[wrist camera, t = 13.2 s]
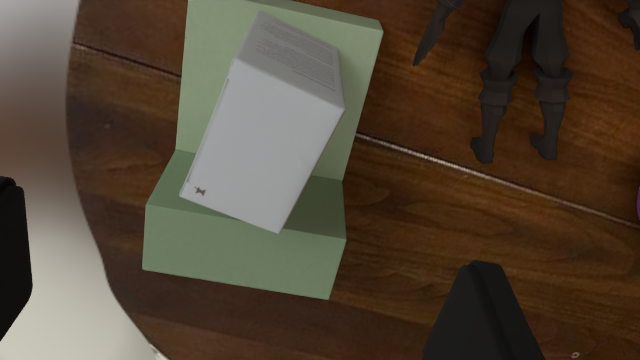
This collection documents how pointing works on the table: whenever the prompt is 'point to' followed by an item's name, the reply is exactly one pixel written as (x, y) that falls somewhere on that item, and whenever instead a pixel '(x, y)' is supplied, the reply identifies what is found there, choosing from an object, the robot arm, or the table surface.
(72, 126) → the table surface
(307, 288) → the green l-shaped step
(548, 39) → the figurine
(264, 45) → the small box
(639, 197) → the blob
